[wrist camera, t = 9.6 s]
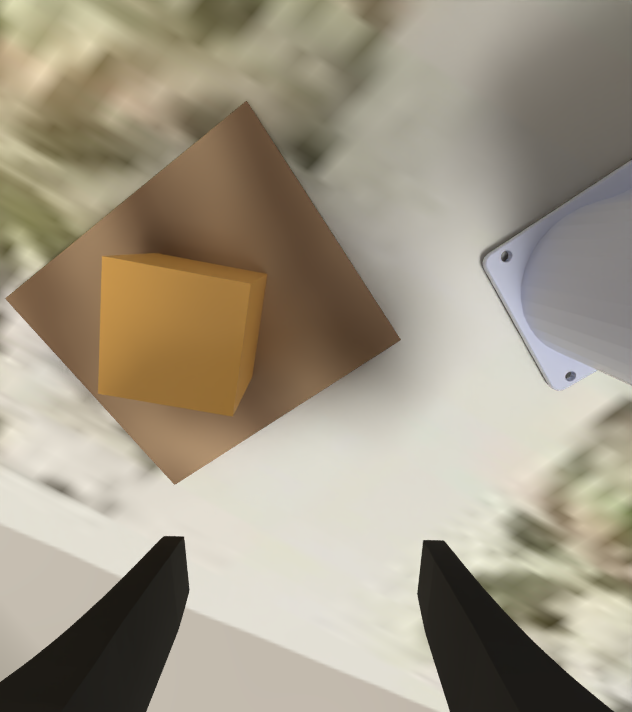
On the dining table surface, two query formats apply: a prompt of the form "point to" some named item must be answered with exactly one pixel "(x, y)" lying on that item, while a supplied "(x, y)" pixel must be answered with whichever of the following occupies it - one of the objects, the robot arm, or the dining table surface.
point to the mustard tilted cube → (178, 331)
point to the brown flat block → (228, 248)
